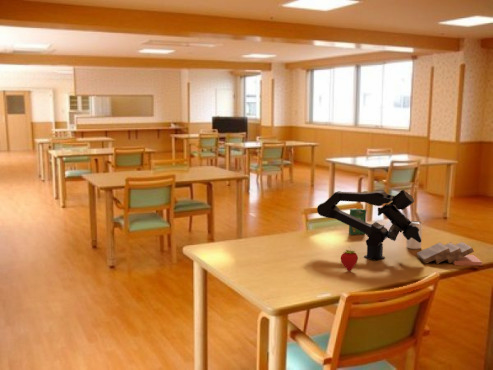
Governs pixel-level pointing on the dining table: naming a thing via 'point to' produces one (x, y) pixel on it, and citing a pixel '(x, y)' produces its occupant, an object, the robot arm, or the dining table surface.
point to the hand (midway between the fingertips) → (420, 241)
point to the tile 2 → (453, 251)
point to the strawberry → (349, 259)
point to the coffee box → (360, 215)
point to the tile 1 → (433, 252)
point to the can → (412, 242)
